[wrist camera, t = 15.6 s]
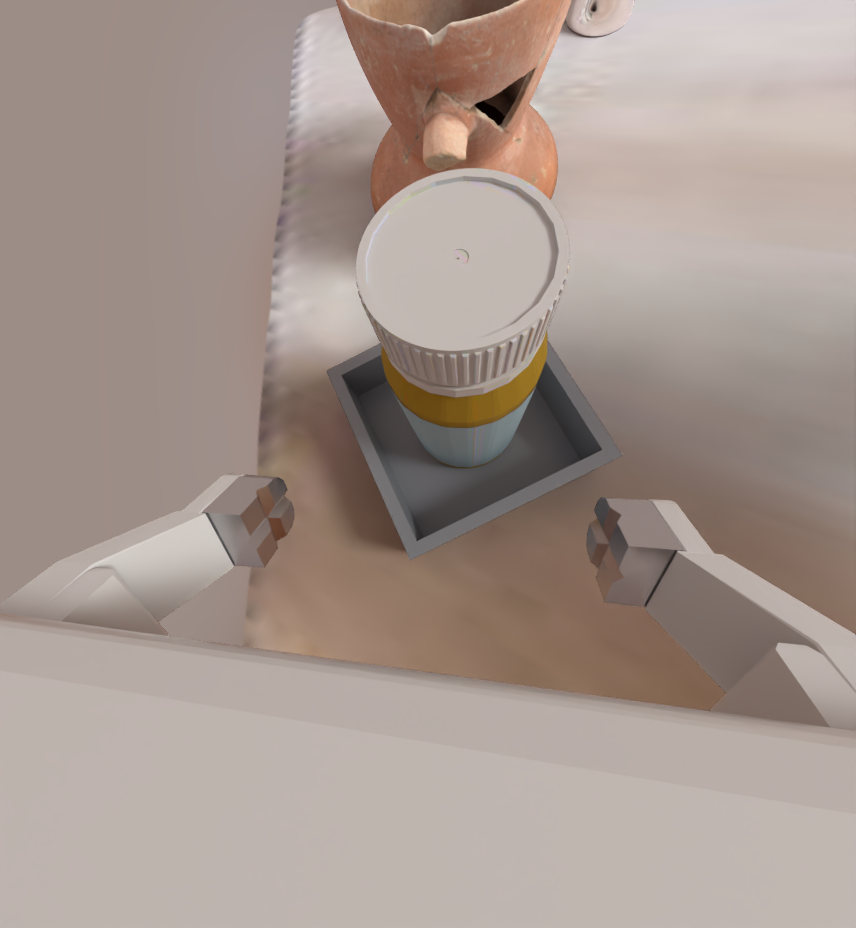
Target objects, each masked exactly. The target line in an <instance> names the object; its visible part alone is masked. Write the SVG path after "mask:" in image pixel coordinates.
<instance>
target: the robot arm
mask: <svg viewBox="0 0 856 928" xmlns="http://www.w3.org/2000/svg"><path fill="white" fill-rule="evenodd" d="M286 491H287V488H286V485H285V483H284V480H282V479H280V478H278V477H267V476H255V475H241V474H226V475H223V476H221V477H220V478H219V479H218V480H217V481H215V483H213V484H212V485H211V486H210V487H209V488H208V489H206V490H205V491H204V492H203V493H202V494H201V495H200V496H198V497H197V498H196V499H195V500H194V501H193V502H191V503H190V504H189V505H188V506H187V507H186V508H184V509H183V510H182V511H175V512H172V513H170V514H168V515H165V516H163V517H161V518H158V519H156V520H154V521H151V522H149V523H146V524H144V525H142V526H139V527H137V528H135V529H132V530H130V531H128V532H125V533H123V534H121V535H118V536H116V537H113V538H111V539H109V540H107V541H104V542H102V543H99V544H97V545H95V546H92V547H90V548H88V549H85V550H83V551H81V552H78V553H76V554H73V555H71V556H69V557H66V558H64V559H62V560H59V561H57V562H56V563H54V564H53V565H52V566H50V567H49V568H48V569H46V570H45V571H43V572H42V573H41V574H39V575H38V576H37V577H35V578H34V579H33V580H31V581H30V582H29V583H27V584H26V585H25V586H23V587H22V588H21V589H19V590H18V591H16V592H15V593H14V594H12V595H11V596H10V597H8V598H7V599H6V600H4V601H3V602H2V603H0V928H856V634H854V633H852V632H851V631H849V630H847V629H846V628H844V627H842V626H841V625H839V624H837V623H836V622H834V621H832V620H831V619H829V618H827V617H826V616H824V615H822V614H821V613H819V612H817V611H816V610H814V609H812V608H811V607H809V606H807V605H806V604H804V603H802V602H801V601H799V600H797V599H796V598H794V597H792V596H791V595H789V594H787V593H786V592H784V591H782V590H781V589H779V588H777V587H776V586H774V585H772V584H771V583H769V582H768V581H766V580H764V579H763V578H761V577H759V576H758V575H756V574H754V573H753V572H751V571H749V570H748V569H746V568H744V567H743V566H741V565H739V564H738V563H736V562H734V561H733V560H731V559H729V558H728V557H726V556H724V555H722V554H714V553H713V551H712V550H711V549H710V547H709V546H708V545H707V543H706V542H705V541H704V539H703V538H702V537H701V535H700V534H699V533H698V531H697V530H696V529H695V527H694V526H693V525H692V523H691V522H690V521H689V519H688V518H687V517H686V515H685V514H684V513H683V511H682V510H681V509H680V507H679V506H678V505H677V504H676V503H675V502H673V501H671V500H653V499H647V500H639V499H621V498H603V497H601V498H600V499H599V500H598V502H597V504H596V507H595V513H596V515H597V518H598V519H596V520H595V521H593V522H592V523H591V524H590V526H589V529H588V533H587V551H588V555H589V558H590V561H591V563H592V564H594V565H595V566H596V567H597V568H598V569H599V570H598V573H597V576H596V579H597V582H598V585H599V588H600V591H601V594H602V597H603V600H604V602H606V603H614V604H622V605H630V606H638V607H645V610H646V611H647V612H648V613H649V614H650V615H651V616H652V617H653V618H654V619H655V620H656V621H657V622H658V623H659V624H660V625H661V626H662V627H663V628H664V630H665V631H666V632H667V633H668V634H669V635H670V636H671V637H672V638H673V639H674V640H675V641H676V642H677V643H678V644H679V645H680V646H681V647H682V648H683V649H684V650H685V651H686V652H687V653H688V654H689V655H690V656H691V657H692V658H693V659H694V660H695V661H696V662H697V663H698V665H699V666H700V667H701V668H702V669H703V670H704V671H705V672H706V673H707V674H708V675H709V676H710V677H711V678H712V679H713V680H714V681H715V682H716V683H717V684H718V685H719V686H720V687H721V688H722V689H723V690H724V691H725V692H726V694H725V695H724V696H723V697H722V698H721V699H720V700H719V701H718V702H717V703H716V704H715V705H714V706H712V708H711V709H710V711H706V710H699V709H692V708H685V707H677V706H670V705H663V704H656V703H648V702H641V701H634V700H627V699H620V698H612V697H605V696H598V695H591V694H583V693H576V692H569V691H562V690H555V689H547V688H540V687H533V686H526V685H518V684H511V683H504V682H497V681H490V680H482V679H475V678H468V677H461V676H454V675H446V674H439V673H432V672H425V671H418V670H410V669H403V668H396V667H389V666H382V665H375V664H367V663H360V662H353V661H346V660H339V659H331V658H324V657H317V656H309V655H302V654H295V653H288V652H280V651H273V650H266V649H259V648H251V647H244V646H237V645H230V644H222V643H215V642H208V641H200V640H193V639H186V638H179V637H171V636H168V633H167V632H166V630H165V629H164V628H163V627H162V626H161V625H160V623H159V621H160V620H161V619H163V618H164V617H166V616H167V615H168V614H170V613H171V612H172V611H174V610H175V609H177V608H178V607H180V606H181V605H182V604H184V603H185V602H187V601H188V600H189V599H191V598H192V597H193V596H195V595H196V594H198V593H199V592H200V591H202V590H203V589H205V588H206V587H207V586H209V585H210V584H212V583H213V582H214V581H216V580H217V579H219V578H220V577H221V576H223V575H224V574H225V573H227V572H228V571H230V570H231V569H232V568H234V566H235V565H236V566H248V567H262V568H265V566H266V565H267V563H268V562H269V560H270V559H271V558H272V556H273V555H274V553H275V552H276V550H277V549H278V545H277V541H278V540H280V539H282V538H283V537H285V536H287V534H288V532H289V531H290V529H291V528H292V524H293V520H294V508H293V505H292V502H290V501H289V500H288V499H287V498H286V497H285V496H284V495H285V493H286Z"/></svg>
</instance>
